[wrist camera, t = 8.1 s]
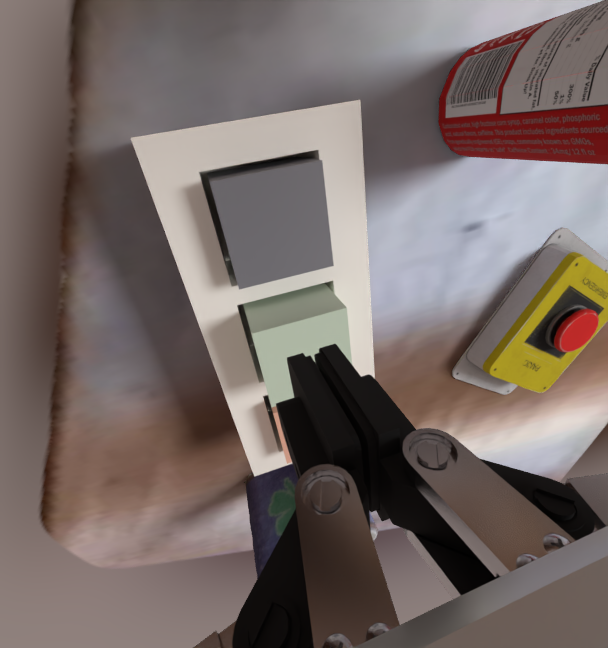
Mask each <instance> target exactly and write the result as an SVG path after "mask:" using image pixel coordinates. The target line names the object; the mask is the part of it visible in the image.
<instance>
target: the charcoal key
mask: <svg viewBox="0 0 608 648" xmlns="http://www.w3.org/2000/svg"><path fill="white" fill-rule="evenodd" d="M207 175H208V179H209V183H210V186H211V190H212V194H213V197H214V201H215V205H216V208H217V212H218V215H219V219H220V223H221V226H222V230H223V234H224V237H225V241H226V244H227V248H228V252H229V255H230V259H231V263H232V266H233V270H234V273H235V277H236V280H237V284H238V287H239V289H243V288H247V287H251V286H255V285H259V284H263V283H267V282H271V281H275V280H279V279H283V278H287V277H291V276H295V275H299V274H303V273H307V272H311V271H315V270H319V269H323V268H327V267H331V266H334V264H333V255H332V246H331V237H330V227H329V218H328V209H327V200H326V191H325V182H324V172H323V163H322V160H318V159H311V158H304V157H297V156H296V157H291V158H285V159H280V160H275V161H270V162H264V163H259V164H254V165H249V166H243V167H238V168H233V169H228V170H222V171H217V172H212V173H207Z"/></svg>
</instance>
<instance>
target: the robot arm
mask: <svg viewBox="0 0 608 648" xmlns="http://www.w3.org/2000/svg"><path fill="white" fill-rule="evenodd" d="M314 357H315V362H314V360H313V359H312V357H311V356H306V357H305V355H304V353H301V354H297V355H294V356H290V357H287V363H288V368H289V374H290V379H291V384H292V389H293V394H294V398H291V399H288V400H285V401H282V402H279V403H276V407H277V411H278V416H279V420H280V424H281V428H282V431H283V435H284V438H285V442H286V445H287V448H288V451H289V454H290V457H291V460H292V463H293V466H294V469H295V472H296V475H297V478H298V482H297V485H296V487H295V505H296V509H295V511H294V513H293V514H292V516H291V518H290V520H289V522H288V524H287V526H286V527H285V529H284V531H283V533H282V535H281V537H280V539H279V540H278V542H277V544H276V546H275V548H274V550H273V552H272V553H271V555H270V557H269V559H268V561H267V563H266V565H265V566H264V568H263V570H262V572H261V574H260V576H259V578H258V580H257V581H256V583H255V585H254V587H253V589H252V591H251V593H250V594H249V596H248V598H247V600H246V602H245V604H244V605H243V607H242V609H241V611H240V614H239V616H238V619H237V620H236V621H235V622H234V623H232V624H231V625H230V626H228V627H227V628H226V629H224V630H223V631H222V632H220V633H219V634H218V633H217V631H215V632H213V633H212V634H211V635H209V636H208V637H207V638H205V639H204V640H203V641H201V642H200V643H199V644H197V645H196V646H195V647H193V648H608V473H606V474H599V475H591V476H584V477H576V478H569V479H567V480H566V483H563V484H562V483H560V482H557V481H555V480H552V479H549V478H546V477H542V476H539V475H535V474H531V473H528V472H524V471H521V470H517V469H514V468H510V467H507V466H503V465H500V464H496V463H493V462H489V461H485V460H482V459H479V458H478V457H476V456H475V455H474V454H473V453H472V452H471V451H469V450H468V449H467V448H466V447H465V446H463V445H462V444H461V443H460V442H459V441H458V440H456V439H455V438H454V437H452V436H451V435H449V434H448V433H446V432H443V431H441V430H438V429H431V428H424V429H418V430H416V429H415V428H414V426H413V425H412V424H411V423H410V421H409V420H408V419H407V418H406V417H405V415H404V414H403V413H402V412H401V410H400V409H399V408H398V407H397V405H396V404H395V403H394V402H393V401H392V399H391V398H390V397H389V396H388V394H387V393H386V392H385V391H384V390H383V388H382V387H381V386H380V385H379V383H378V382H377V381H376V380H375V379H374V377H373V376H372V375H369V374H368V375H365V376H362V377H361V376H360V375H359V373H358V372H357V371H356V369H355V368H354V367H353V365H352V364H351V363H350V361H349V360H348V359H347V358H346V356H345V355H344V354H343V352H342V351H341V350H340V348H339V347H338V346H337V345H336V344H332V345H329V346H325V347H322V348H319V353H316V354H315V355H314ZM369 510H370V511H371V512H373V511H377V513H378V515H379V517H380V518H381V520H382V521H384V520H387V519H389V518H390V520H391V522H392V523H393V524H394V525H397V526H399V527H402V528H403V531H404V532H405V534H406V536H407V538H408V539H409V540H410V542H411V543H412V545H413V546H414V547H415V549H416V550H417V551H418V553H419V554H420V555H421V557H422V558H423V559H424V561H425V562H426V563H427V565H428V566H429V568H430V569H431V570H432V571H433V573H434V574H435V575H436V577H437V578H438V580H439V581H440V582H441V584H442V585H443V586H444V588H445V589H446V590H447V592H448V593H449V594H450V596H451V597H452V599H453V600H451V601H449V602H447V603H445V604H443V605H441V606H439V607H436V608H434V609H432V610H430V611H428V612H426V613H424V614H422V615H420V616H418V617H416V618H414V619H412V620H410V621H408V622H405V623H404V624H401V625H400V624H399V621H398V618H397V614H396V611H395V608H394V605H393V602H392V599H391V595H390V592H389V589H388V586H387V583H386V579H385V576H384V573H383V570H382V567H381V564H380V560H379V557H378V554H377V551H376V548H375V545H374V541H373V538H372V535H371V528H370V514H369Z"/></svg>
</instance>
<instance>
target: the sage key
mask: <svg viewBox="0 0 608 648" xmlns="http://www.w3.org/2000/svg"><path fill="white" fill-rule="evenodd" d="M243 306H244V310H245V313H246V317H247V321H248V324H249V328H250V331H251V335H252V339H253V342H254V346H255V350H256V353H257V357H258V361H259V364H260V368H261V371H262V375H263V378H264V382H265V386H266V389H267V393H268V396H269V400H270V403H271V407H275V406H276V403H279V402H282V401H285V400H288V399H291V398H294V394H293V389H292V384H291V379H290V374H289V368H288V363H287V357H290V356H294V355H297V354H301V353H304V355H305V357H306V356H311V357H312V359H313V360H314V362H315V357H314V355H315V354H316V353H319V348H322V347H325V346H329V345H332V344H336V345H337V346H338V347H339V348H340V350H341V351H342V352H343V354H344V355H345V356H346V358H347V359H348V360H349V361H350V363H351V364H352V358H351V347H350V336H349V326H348V315H347V307H346V306H345V305H344V304H343V303H342V302H341V301H340V300H339V299H338V297H337V296H336V295H335V294H334V293H333V292H332V291H331V290H330V289H329V287H328V286H327V285H326V284H325V283H322V284H318V285H314V286H310V287H306V288H302V289H298V290H295V291H291V292H287V293H283V294H279V295H275V296H271V297H267V298H264V299H260V300H256V301H252V302H248V303H244V304H243Z"/></svg>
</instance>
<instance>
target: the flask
mask: <svg viewBox="0 0 608 648" xmlns="http://www.w3.org/2000/svg"><path fill="white" fill-rule="evenodd" d="M297 482H298V478H297V475H296V472H295V469H294V466H293V463H292V464H289V465H286V466H284V467H281V468H278V469H275V470H272V471H269V472H266V473H263V474H260V475H258V476H255V477H254V474H253V473H251V474H249V476H248V477H247V479H246V481H245V482H244V483H246V493H247V500H248V508H249V514H250V525H251V531H252V537H253V549H254V553H255V563H256V571H257V576H258V578H259V576H260V574H261V572H262V570H263V568H264V566H265V565H266V563H267V561H268V559H269V557H270V555H271V553H272V552H273V550H274V548H275V546H276V544H277V542H278V540H279V539H280V537H281V535H282V533H283V531H284V529H285V527H286V526H287V524H288V522H289V520H290V518H291V516H292V514H293V513H294V511H295V509H296V505H295V487H296V485H297ZM369 514H370V512H369ZM370 528H371V535H372V538H373V541H374V540H375V539H376V537H377V532H378V529H377V527H376V525H375V522H374V520H373V518H372V516H371V514H370ZM258 578H257V579H258Z"/></svg>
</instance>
